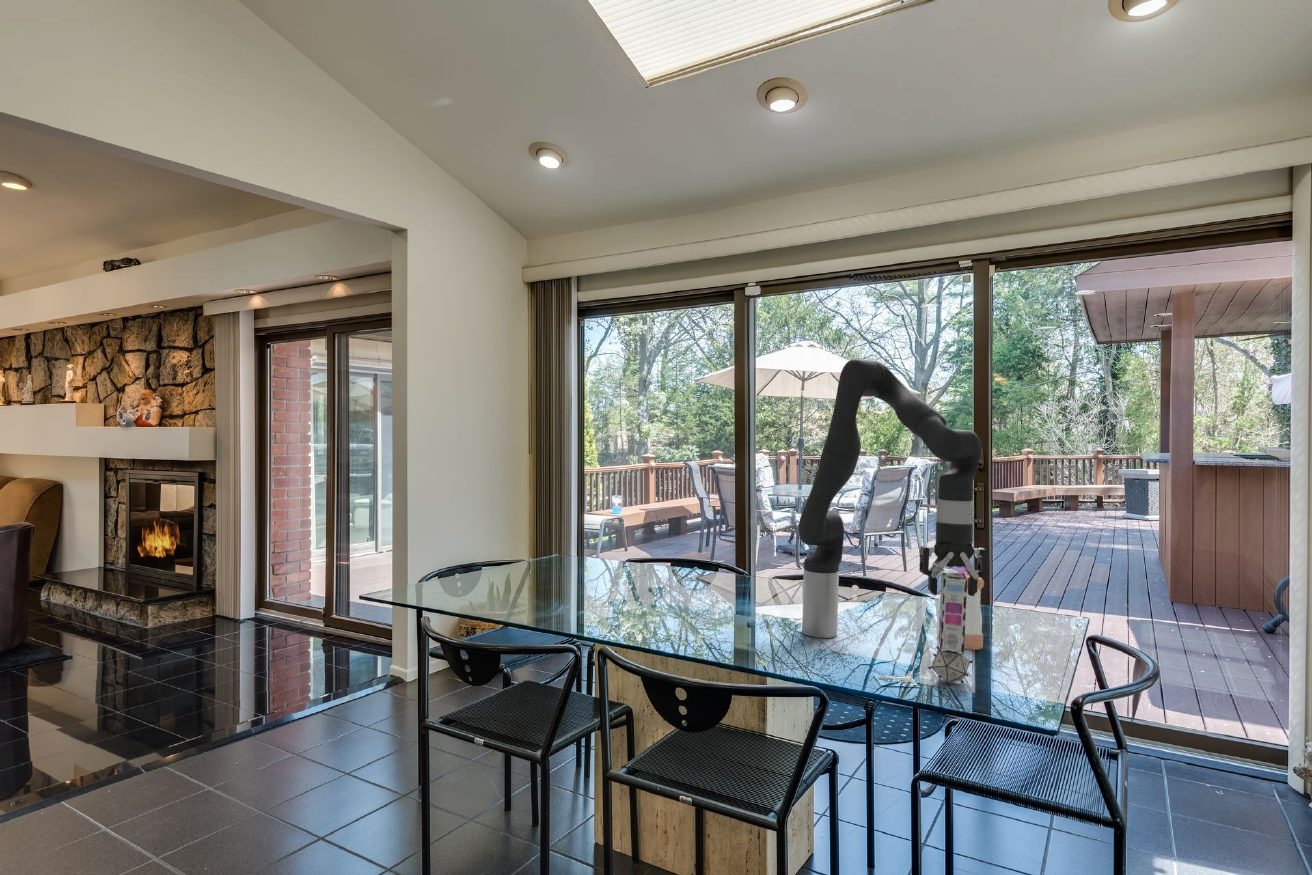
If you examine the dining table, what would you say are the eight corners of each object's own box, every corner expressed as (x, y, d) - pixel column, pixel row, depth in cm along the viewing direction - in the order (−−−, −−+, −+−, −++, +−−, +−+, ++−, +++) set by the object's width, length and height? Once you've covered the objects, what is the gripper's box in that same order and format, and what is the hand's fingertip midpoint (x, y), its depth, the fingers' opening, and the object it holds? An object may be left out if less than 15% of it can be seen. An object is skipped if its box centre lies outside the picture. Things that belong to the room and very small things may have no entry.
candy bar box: (965, 655, 153) (968, 578, 152) (940, 652, 154) (942, 576, 154) (961, 641, 163) (964, 568, 163) (938, 638, 165) (940, 566, 165)
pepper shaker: (965, 650, 183) (967, 575, 183) (946, 642, 190) (948, 569, 190) (989, 648, 185) (991, 574, 184) (969, 640, 192) (971, 568, 192)
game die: (942, 700, 158) (914, 663, 159) (950, 676, 165) (924, 640, 165) (978, 690, 153) (950, 651, 153) (985, 666, 159) (958, 629, 159)
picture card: (873, 676, 162) (873, 674, 162) (910, 677, 161) (910, 676, 161) (881, 686, 156) (881, 684, 156) (918, 687, 155) (918, 685, 155)
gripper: (980, 519, 162) (978, 591, 162) (916, 517, 162) (913, 589, 163) (995, 523, 154) (992, 599, 155) (927, 521, 155) (924, 597, 155)
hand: (952, 594), depth 159 cm, fingers open, 7 cm apart
